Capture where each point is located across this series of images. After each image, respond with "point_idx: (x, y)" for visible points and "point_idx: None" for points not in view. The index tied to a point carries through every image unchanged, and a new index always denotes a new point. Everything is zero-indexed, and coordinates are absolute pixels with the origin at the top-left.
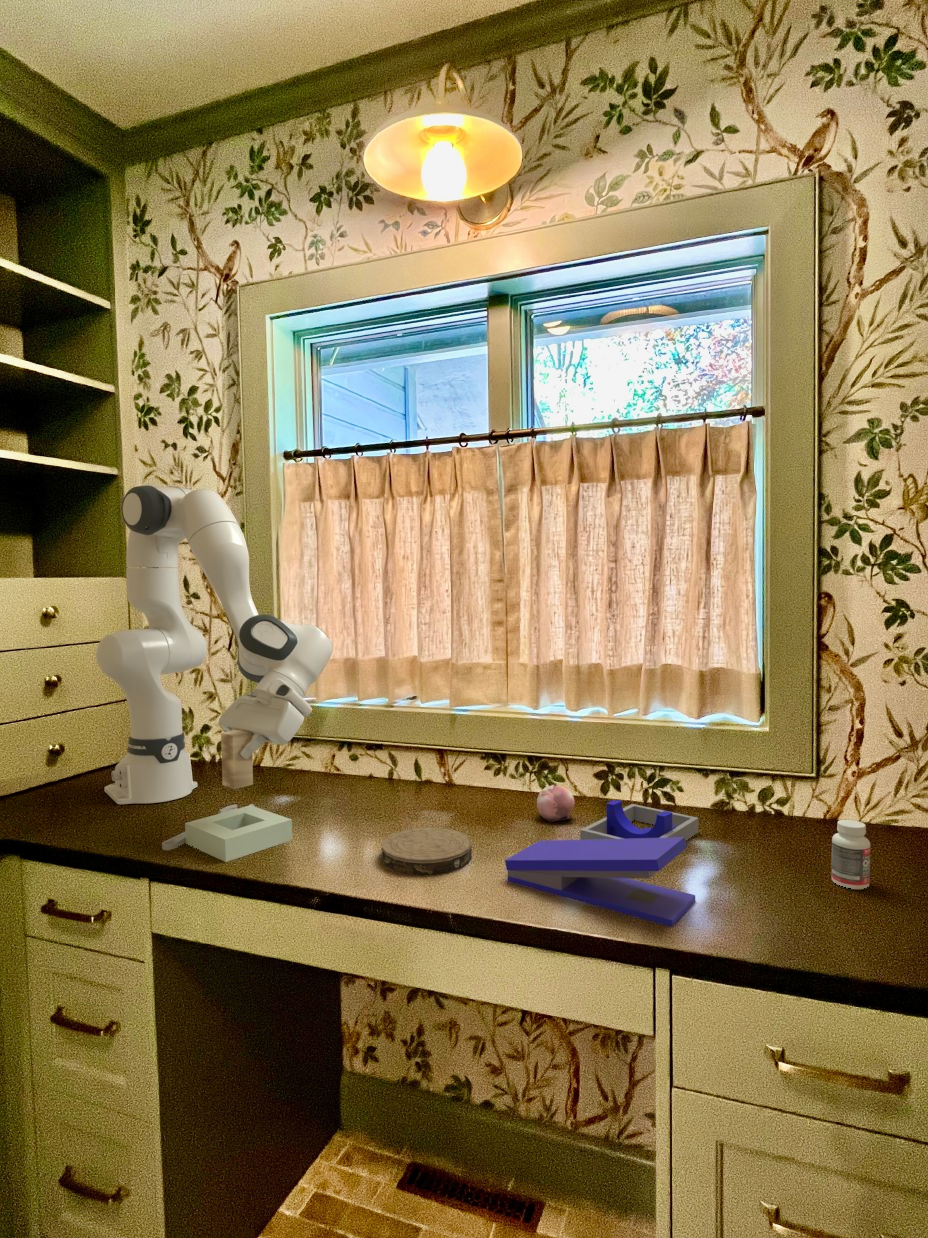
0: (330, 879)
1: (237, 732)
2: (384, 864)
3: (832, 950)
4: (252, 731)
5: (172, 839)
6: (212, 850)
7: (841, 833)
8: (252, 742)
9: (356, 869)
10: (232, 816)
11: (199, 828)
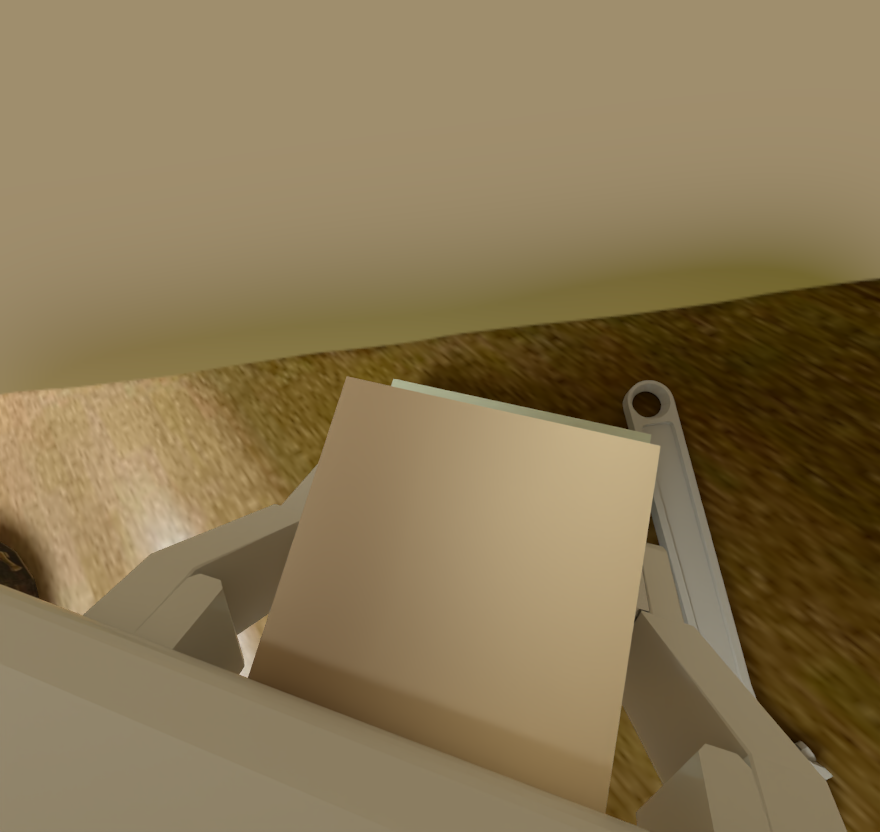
0: (114, 432)
1: (428, 572)
2: (21, 562)
3: None
4: (172, 651)
5: (673, 428)
6: None
7: None
8: (202, 534)
9: (79, 508)
10: None
11: (552, 415)
